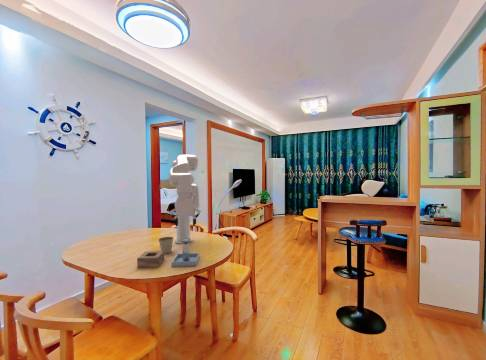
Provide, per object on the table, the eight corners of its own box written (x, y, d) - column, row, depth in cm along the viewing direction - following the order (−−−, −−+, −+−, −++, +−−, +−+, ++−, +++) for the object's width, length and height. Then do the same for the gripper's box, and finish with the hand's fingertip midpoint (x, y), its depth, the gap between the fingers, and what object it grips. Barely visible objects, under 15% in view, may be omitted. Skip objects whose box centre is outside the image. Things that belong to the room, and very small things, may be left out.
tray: (177, 257, 135) (177, 253, 135) (199, 257, 136) (199, 253, 136) (171, 266, 122) (171, 262, 122) (196, 265, 123) (195, 261, 123)
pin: (182, 259, 132) (182, 238, 131) (191, 258, 132) (191, 238, 131) (180, 262, 127) (180, 241, 126) (189, 262, 127) (189, 240, 126)
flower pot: (157, 255, 139) (157, 241, 139) (159, 250, 149) (158, 237, 148) (173, 253, 142) (173, 240, 142) (174, 249, 151) (173, 236, 151)
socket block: (145, 259, 132) (145, 251, 132) (164, 259, 133) (164, 250, 133) (137, 267, 121) (137, 258, 121) (158, 267, 122) (158, 257, 122)
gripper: (201, 194, 132) (201, 223, 133) (171, 194, 132) (171, 224, 132) (199, 196, 125) (200, 227, 126) (167, 196, 124) (168, 227, 125)
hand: (185, 225), depth 129 cm, fingers open, 9 cm apart
